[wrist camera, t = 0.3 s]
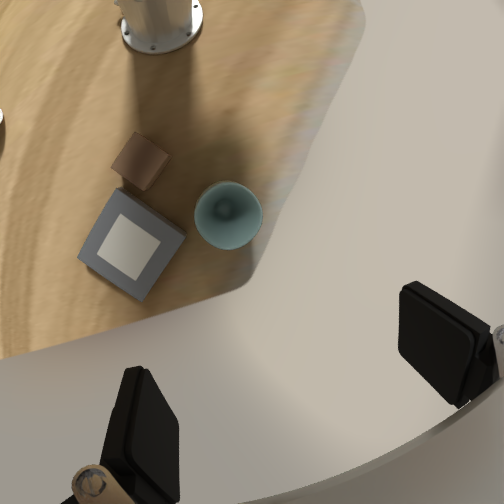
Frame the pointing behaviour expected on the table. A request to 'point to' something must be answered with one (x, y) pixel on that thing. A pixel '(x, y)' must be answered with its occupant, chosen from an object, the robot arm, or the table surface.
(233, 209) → the cup
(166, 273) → the table surface
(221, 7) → the table surface
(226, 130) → the table surface
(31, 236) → the table surface
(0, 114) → the spread jar
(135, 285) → the slate base
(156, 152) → the walnut cube
